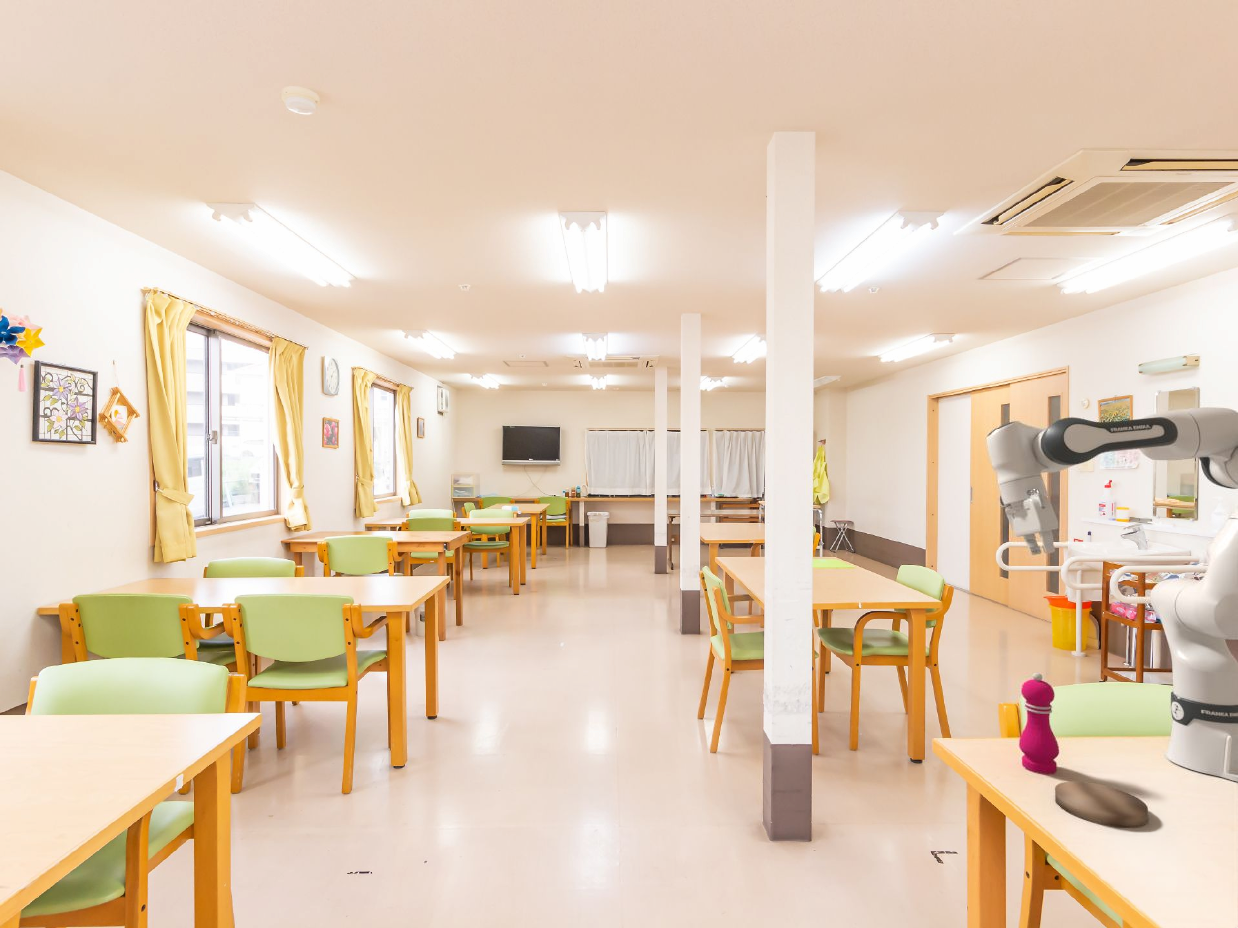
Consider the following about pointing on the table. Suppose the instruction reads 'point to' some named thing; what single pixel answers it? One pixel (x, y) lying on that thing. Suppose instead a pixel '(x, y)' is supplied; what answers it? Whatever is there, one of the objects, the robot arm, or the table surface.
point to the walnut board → (1101, 804)
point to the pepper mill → (1038, 727)
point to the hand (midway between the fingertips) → (1043, 553)
